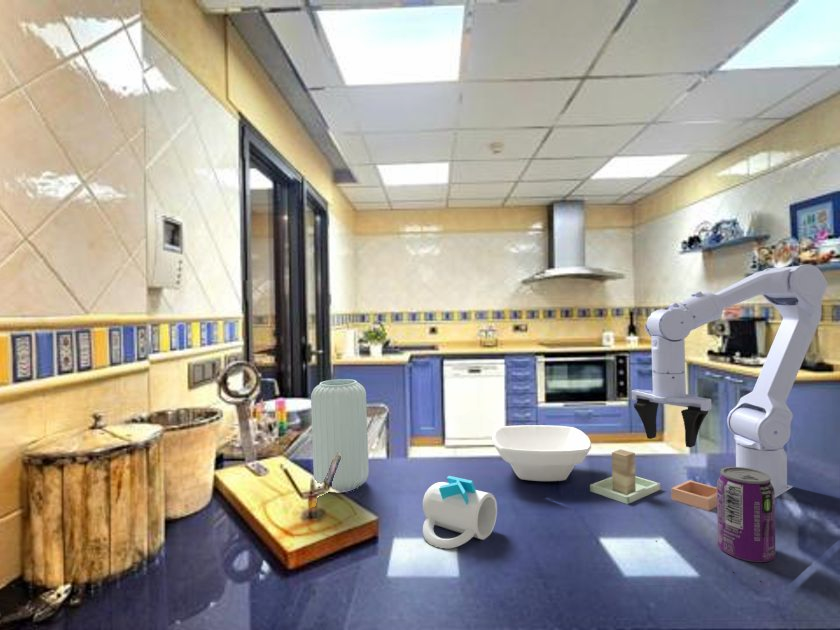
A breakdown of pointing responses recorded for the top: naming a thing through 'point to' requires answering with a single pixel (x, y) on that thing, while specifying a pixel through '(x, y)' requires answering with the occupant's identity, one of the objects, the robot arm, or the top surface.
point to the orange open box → (695, 495)
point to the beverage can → (746, 514)
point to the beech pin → (623, 471)
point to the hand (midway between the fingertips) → (670, 441)
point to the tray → (642, 490)
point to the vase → (340, 432)
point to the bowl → (541, 450)
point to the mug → (458, 512)
